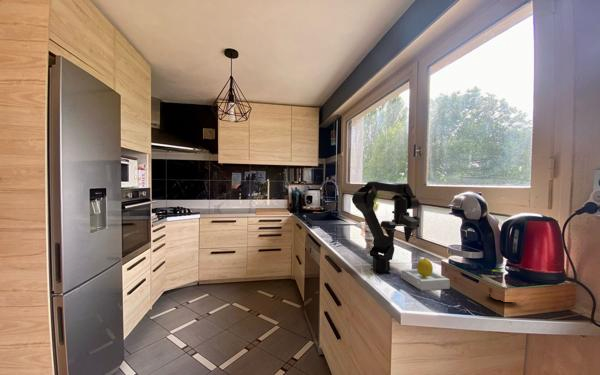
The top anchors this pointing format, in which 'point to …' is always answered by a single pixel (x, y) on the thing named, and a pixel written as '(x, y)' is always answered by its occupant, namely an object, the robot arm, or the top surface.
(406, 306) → the top surface
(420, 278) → the white square tray
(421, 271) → the lemon
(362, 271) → the top surface
